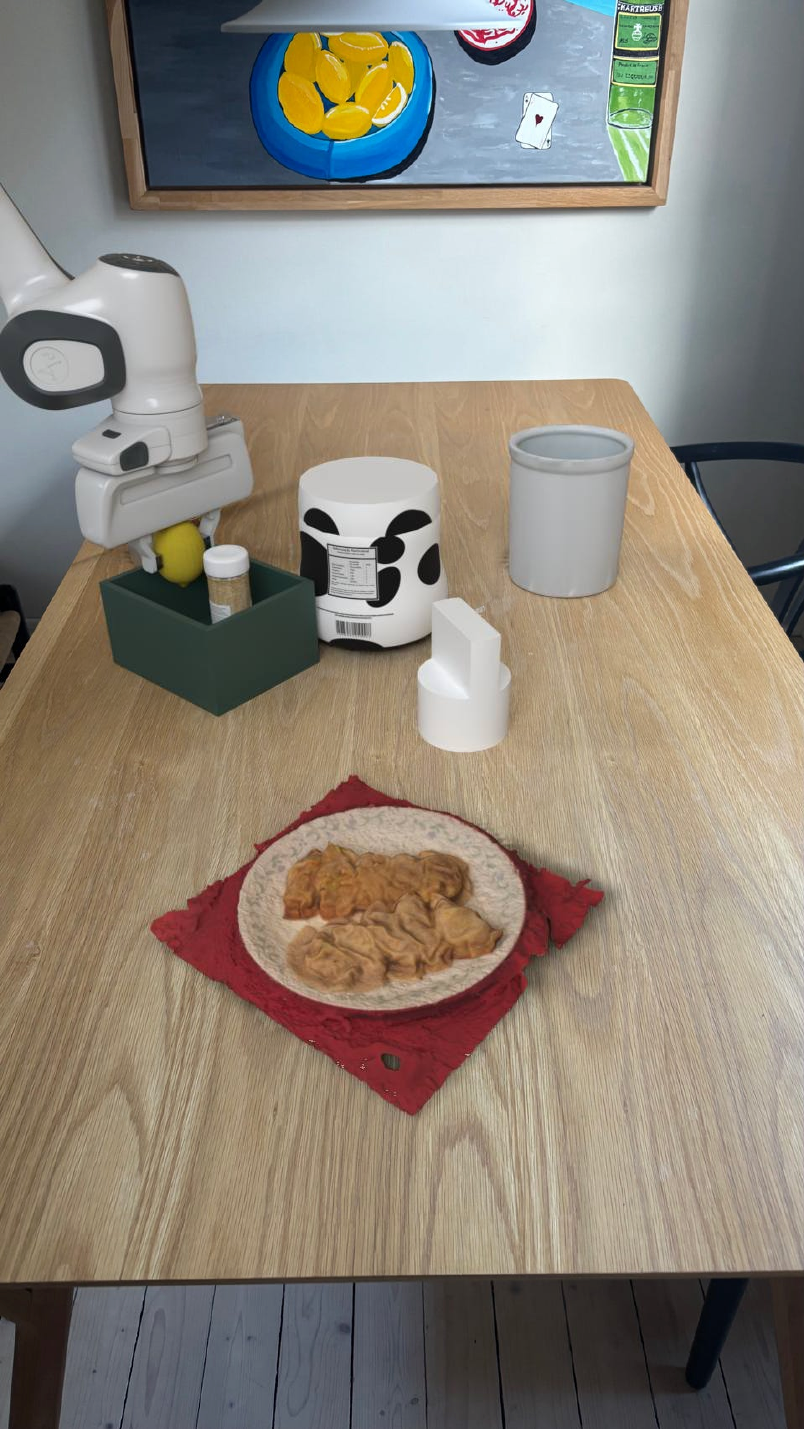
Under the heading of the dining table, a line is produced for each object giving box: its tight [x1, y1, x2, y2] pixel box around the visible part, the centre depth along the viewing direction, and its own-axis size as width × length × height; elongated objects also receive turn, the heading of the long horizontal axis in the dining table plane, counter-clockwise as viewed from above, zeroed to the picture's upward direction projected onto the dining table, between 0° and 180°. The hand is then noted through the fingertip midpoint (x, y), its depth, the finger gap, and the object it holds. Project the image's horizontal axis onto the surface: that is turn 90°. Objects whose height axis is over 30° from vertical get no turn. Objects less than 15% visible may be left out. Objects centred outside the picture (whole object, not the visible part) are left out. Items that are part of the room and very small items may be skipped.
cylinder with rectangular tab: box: [417, 597, 512, 753], centre depth 98 cm, size 9×9×12 cm
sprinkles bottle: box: [203, 544, 252, 624], centre depth 107 cm, size 5×5×14 cm
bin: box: [98, 543, 320, 718], centre depth 111 cm, size 18×15×10 cm
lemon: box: [152, 520, 206, 587], centre depth 109 cm, size 6×6×8 cm
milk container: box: [297, 455, 449, 652], centre depth 115 cm, size 17×17×18 cm
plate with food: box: [150, 774, 605, 1117], centre depth 78 cm, size 24×26×4 cm
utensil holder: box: [508, 423, 636, 599], centre depth 126 cm, size 15×15×18 cm
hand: (179, 559), depth 109 cm, fingers closed on lemon, 5 cm apart
